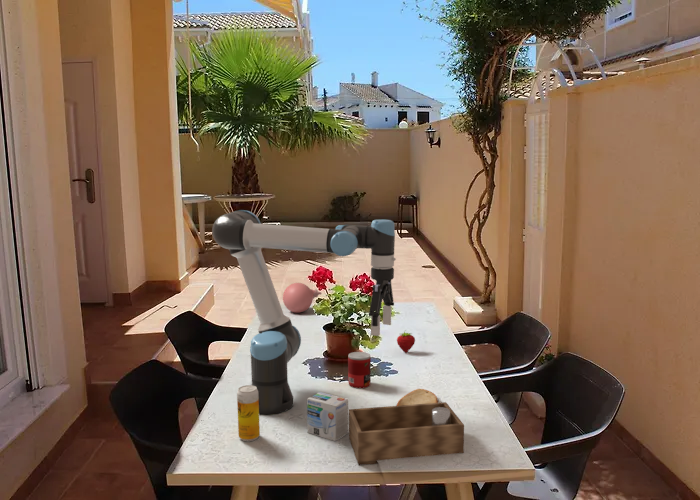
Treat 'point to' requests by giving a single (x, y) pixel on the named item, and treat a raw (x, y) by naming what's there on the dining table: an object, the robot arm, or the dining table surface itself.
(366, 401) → the dining table surface
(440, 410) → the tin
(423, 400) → the slice of bread
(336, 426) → the light bulb box
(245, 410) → the beer can
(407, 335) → the strawberry
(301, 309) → the pink rounded piece
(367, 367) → the canned food
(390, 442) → the crate
